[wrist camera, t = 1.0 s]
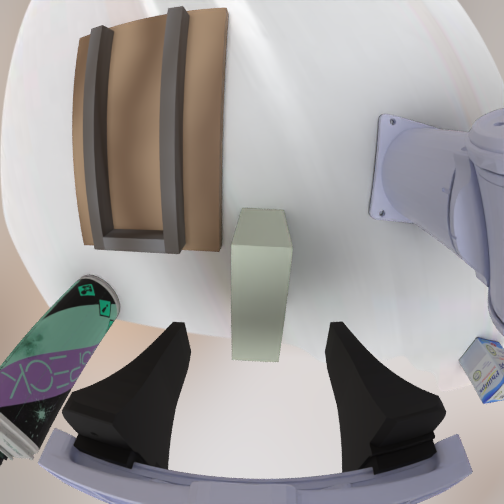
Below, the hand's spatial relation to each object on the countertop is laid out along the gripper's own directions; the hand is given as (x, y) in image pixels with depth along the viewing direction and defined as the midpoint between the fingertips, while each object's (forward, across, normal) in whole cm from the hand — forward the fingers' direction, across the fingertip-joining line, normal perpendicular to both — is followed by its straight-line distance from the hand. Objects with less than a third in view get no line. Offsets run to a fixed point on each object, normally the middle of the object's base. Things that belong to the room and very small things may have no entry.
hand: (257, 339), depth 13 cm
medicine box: (+9, -31, +15) cm, 36 cm away
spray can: (+9, +16, +4) cm, 19 cm away
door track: (+9, +8, -11) cm, 16 cm away
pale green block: (+9, 0, 0) cm, 9 cm away
